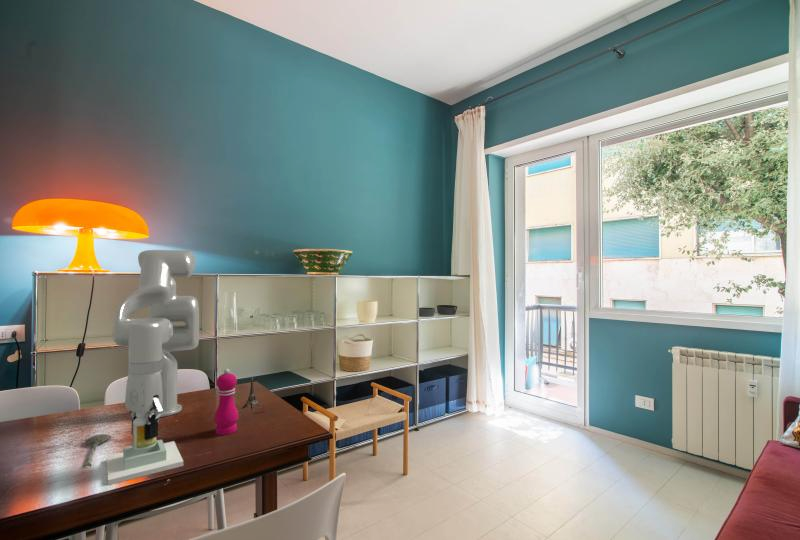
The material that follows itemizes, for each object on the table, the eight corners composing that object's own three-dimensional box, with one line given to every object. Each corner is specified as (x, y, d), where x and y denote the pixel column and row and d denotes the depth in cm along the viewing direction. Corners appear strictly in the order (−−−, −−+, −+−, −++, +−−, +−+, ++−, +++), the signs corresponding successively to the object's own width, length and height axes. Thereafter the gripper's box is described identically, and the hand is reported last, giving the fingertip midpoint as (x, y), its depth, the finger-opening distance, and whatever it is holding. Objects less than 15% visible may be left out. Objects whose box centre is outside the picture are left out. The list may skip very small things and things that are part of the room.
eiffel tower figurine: (235, 405, 155) (235, 370, 156) (262, 401, 160) (263, 368, 160) (236, 417, 142) (236, 379, 142) (266, 413, 146) (266, 377, 146)
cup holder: (108, 485, 95) (108, 469, 95) (106, 460, 108) (106, 446, 108) (183, 465, 105) (183, 451, 105) (174, 445, 117) (174, 432, 117)
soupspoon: (114, 439, 125) (88, 444, 122) (113, 428, 125) (87, 433, 122) (101, 465, 105) (70, 472, 102) (101, 452, 105) (69, 459, 102)
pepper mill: (229, 436, 124) (229, 372, 124) (208, 434, 125) (209, 371, 125) (243, 427, 131) (243, 366, 131) (223, 426, 132) (223, 365, 132)
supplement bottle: (161, 443, 108) (161, 407, 108) (142, 451, 103) (142, 414, 103) (146, 440, 110) (146, 405, 110) (127, 449, 105) (127, 411, 105)
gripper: (113, 366, 108) (112, 434, 107) (148, 374, 99) (147, 447, 99) (142, 361, 114) (142, 425, 114) (178, 368, 106) (177, 437, 105)
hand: (144, 435), depth 106 cm, fingers closed on supplement bottle, 5 cm apart
